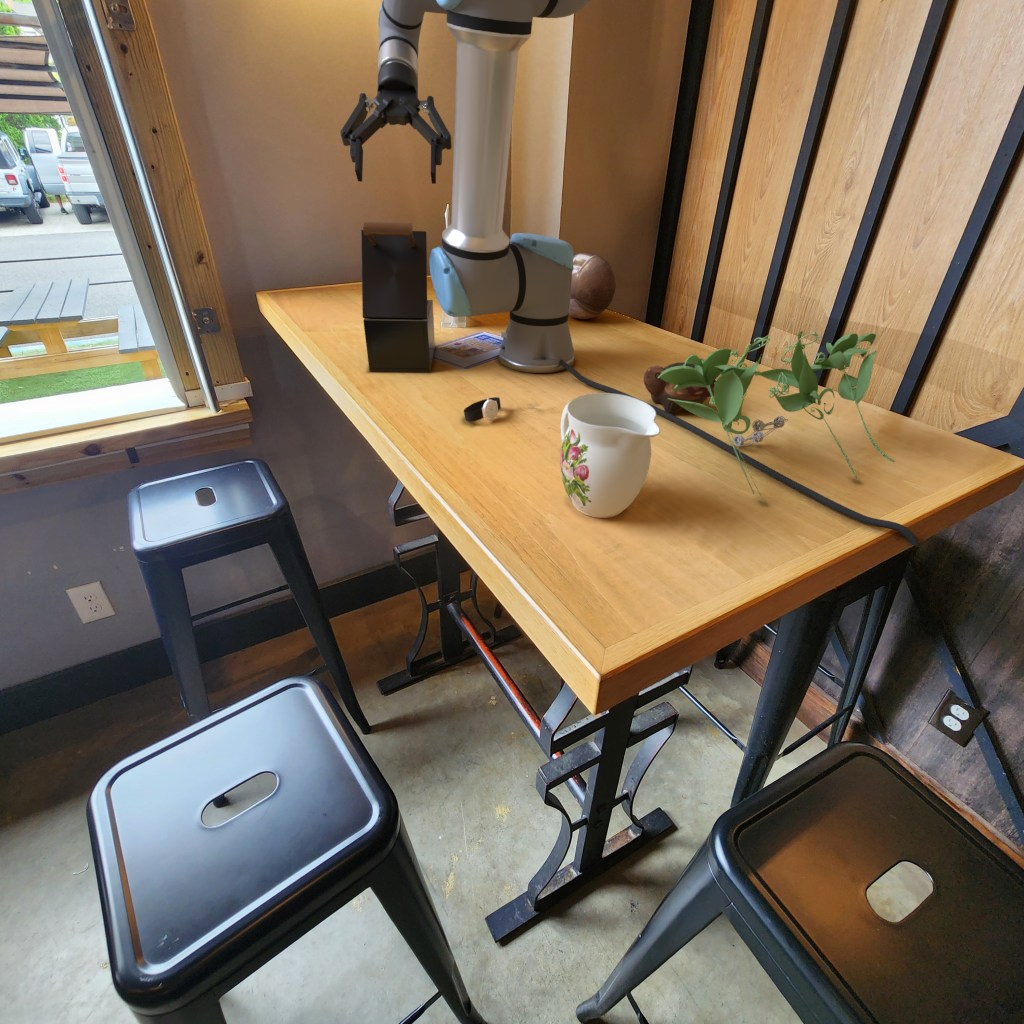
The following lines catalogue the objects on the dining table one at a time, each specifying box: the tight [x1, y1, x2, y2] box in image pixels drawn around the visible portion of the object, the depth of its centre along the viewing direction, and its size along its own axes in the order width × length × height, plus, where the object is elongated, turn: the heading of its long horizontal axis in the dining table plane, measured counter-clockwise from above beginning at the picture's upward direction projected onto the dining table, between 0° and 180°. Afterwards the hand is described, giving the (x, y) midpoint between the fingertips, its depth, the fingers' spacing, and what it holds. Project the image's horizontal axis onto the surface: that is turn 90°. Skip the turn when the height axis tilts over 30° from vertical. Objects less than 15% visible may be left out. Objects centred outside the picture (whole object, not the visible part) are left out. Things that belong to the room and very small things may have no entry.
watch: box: [463, 396, 502, 422], centre depth 93 cm, size 8×5×4 cm, turn 143°
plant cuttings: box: [658, 330, 896, 501], centre depth 80 cm, size 35×17×22 cm
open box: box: [362, 299, 436, 373], centre depth 112 cm, size 15×12×10 cm
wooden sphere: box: [568, 252, 617, 320], centre depth 138 cm, size 15×15×15 cm
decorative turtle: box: [642, 361, 717, 415], centre depth 97 cm, size 10×15×8 cm, turn 111°
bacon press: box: [360, 221, 428, 319], centre depth 99 cm, size 15×12×8 cm
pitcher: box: [559, 392, 661, 519], centre depth 71 cm, size 11×18×14 cm, turn 27°
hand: (396, 177), depth 104 cm, fingers open, 13 cm apart
